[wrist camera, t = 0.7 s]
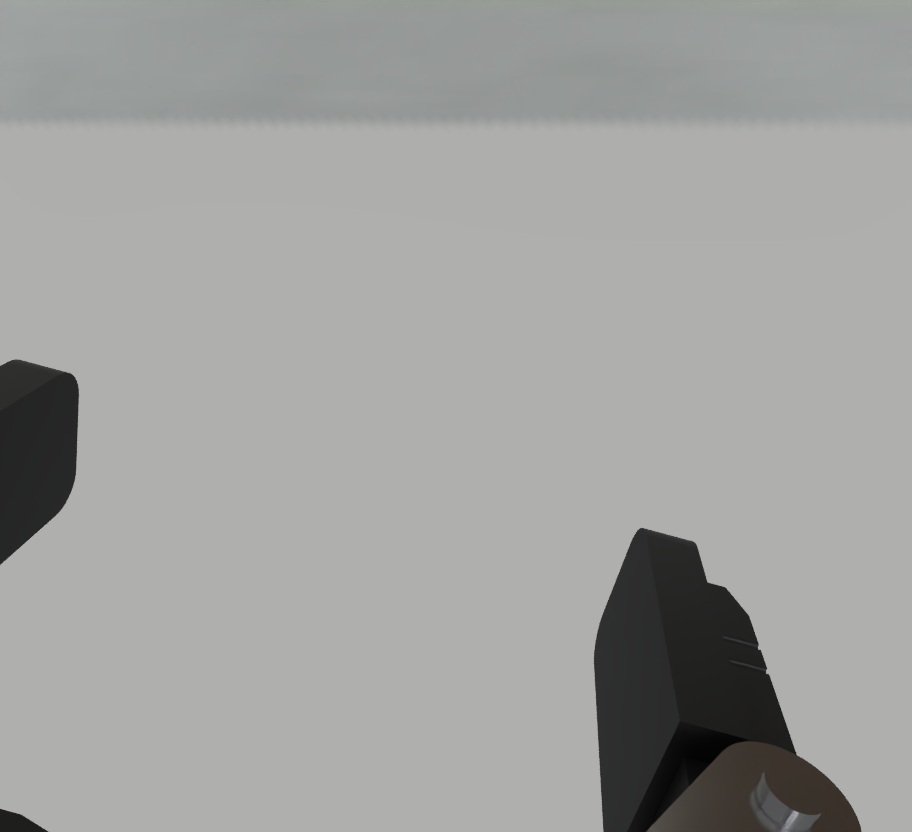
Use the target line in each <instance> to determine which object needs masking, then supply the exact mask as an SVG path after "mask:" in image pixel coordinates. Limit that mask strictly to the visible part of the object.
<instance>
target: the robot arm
mask: <svg viewBox="0 0 912 832" xmlns="http://www.w3.org/2000/svg"><path fill="white" fill-rule="evenodd" d="M78 399H79V389H78V384H77V381H76V379H75V377H74V376H73V375H72V374H70V373H67V372H63V371H59V370H56V369H52V368H48V367H44V366H40V365H37V364H33V363H29V362H26V361H22V360H12V361H9V362H7V363H6V364H3V365H1V366H0V564H2V563H3V561H5V560H6V559H7V558H8V557H9V556H11V555H12V554H13V553H14V552H15V551H16V550H17V549H19V548H20V547H21V546H22V545H23V544H24V543H25V542H26V541H28V540H29V539H30V538H31V537H32V536H33V535H34V534H35V533H37V532H38V531H39V530H40V529H41V528H42V527H43V526H44V525H45V524H47V523H48V522H49V521H50V520H51V519H52V518H53V517H55V516H56V515H57V513H59V511H60V510H61V509H62V508H63V506H64V505H65V503H66V501H67V499H68V497H69V495H70V493H71V490H72V488H73V484H74V481H75V475H76V457H77V427H78ZM594 669H595V687H596V706H597V722H598V741H599V758H600V776H601V794H602V812H603V829H604V832H861V827H860V824H859V821H858V819H857V816H856V814H855V812H854V810H853V808H852V806H851V805H850V804H849V802H848V801H847V799H846V798H845V796H844V795H843V794H842V792H841V791H840V790H839V789H838V788H837V787H836V786H835V784H834V783H832V781H831V780H830V779H828V778H827V777H826V776H825V775H824V774H823V773H822V772H820V771H819V770H818V769H817V768H816V767H814V766H813V765H811V764H810V763H808V762H807V761H805V760H804V759H802V758H800V757H799V756H797V755H796V752H795V749H794V746H793V743H792V740H791V737H790V734H789V731H788V728H787V726H786V723H785V720H784V717H783V714H782V711H781V708H780V705H779V702H778V699H777V697H776V693H775V690H774V688H773V685H772V682H771V679H770V676H769V675H768V674H766V669H767V667H766V664H765V661H764V658H763V655H762V653H761V650H758V641H757V638H756V635H755V632H754V629H753V626H752V623H751V621H750V618H749V616H748V614H747V613H746V612H745V611H744V609H743V608H742V607H741V606H740V605H739V603H738V602H737V601H736V600H735V599H734V597H733V596H732V595H731V594H730V592H729V591H728V590H727V589H726V588H725V587H722V586H718V585H714V584H711V583H707V580H706V576H705V572H704V569H703V566H702V562H701V558H700V555H699V552H698V548H697V545H696V544H695V543H694V542H693V541H689V540H685V539H681V538H678V537H674V536H670V535H666V534H663V533H659V532H655V531H652V530H648V529H644V528H640V529H639V530H638V531H637V532H636V534H635V535H634V537H633V539H632V542H631V544H630V547H629V549H628V552H627V554H626V557H625V559H624V562H623V564H622V567H621V569H620V572H619V575H618V577H617V580H616V582H615V585H614V587H613V590H612V593H611V595H610V597H609V600H608V602H607V605H606V608H605V610H604V613H603V615H602V618H601V621H600V625H599V629H598V633H597V638H596V644H595V651H594ZM0 832H48V831H46V830H45V829H43V828H42V827H40V826H38V825H37V824H35V823H33V822H32V821H30V820H29V819H27V818H25V817H24V816H22V815H20V814H17V813H13V812H9V811H6V810H2V809H0Z"/></svg>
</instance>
